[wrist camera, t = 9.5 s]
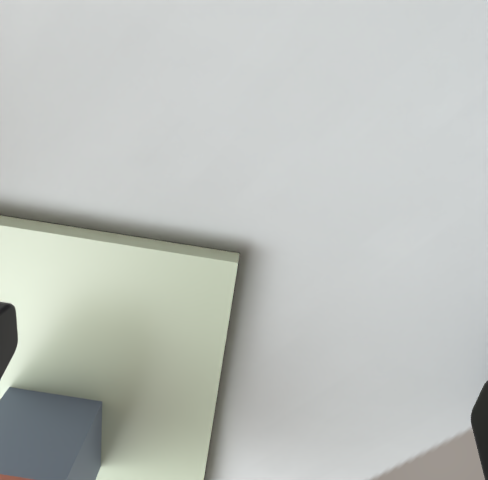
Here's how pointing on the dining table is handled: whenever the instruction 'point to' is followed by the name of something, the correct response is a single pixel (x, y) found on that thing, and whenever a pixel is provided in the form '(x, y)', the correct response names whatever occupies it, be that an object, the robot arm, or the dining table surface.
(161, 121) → the dining table surface
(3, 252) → the build board
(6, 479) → the red brick
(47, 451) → the blue brick
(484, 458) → the robot arm
